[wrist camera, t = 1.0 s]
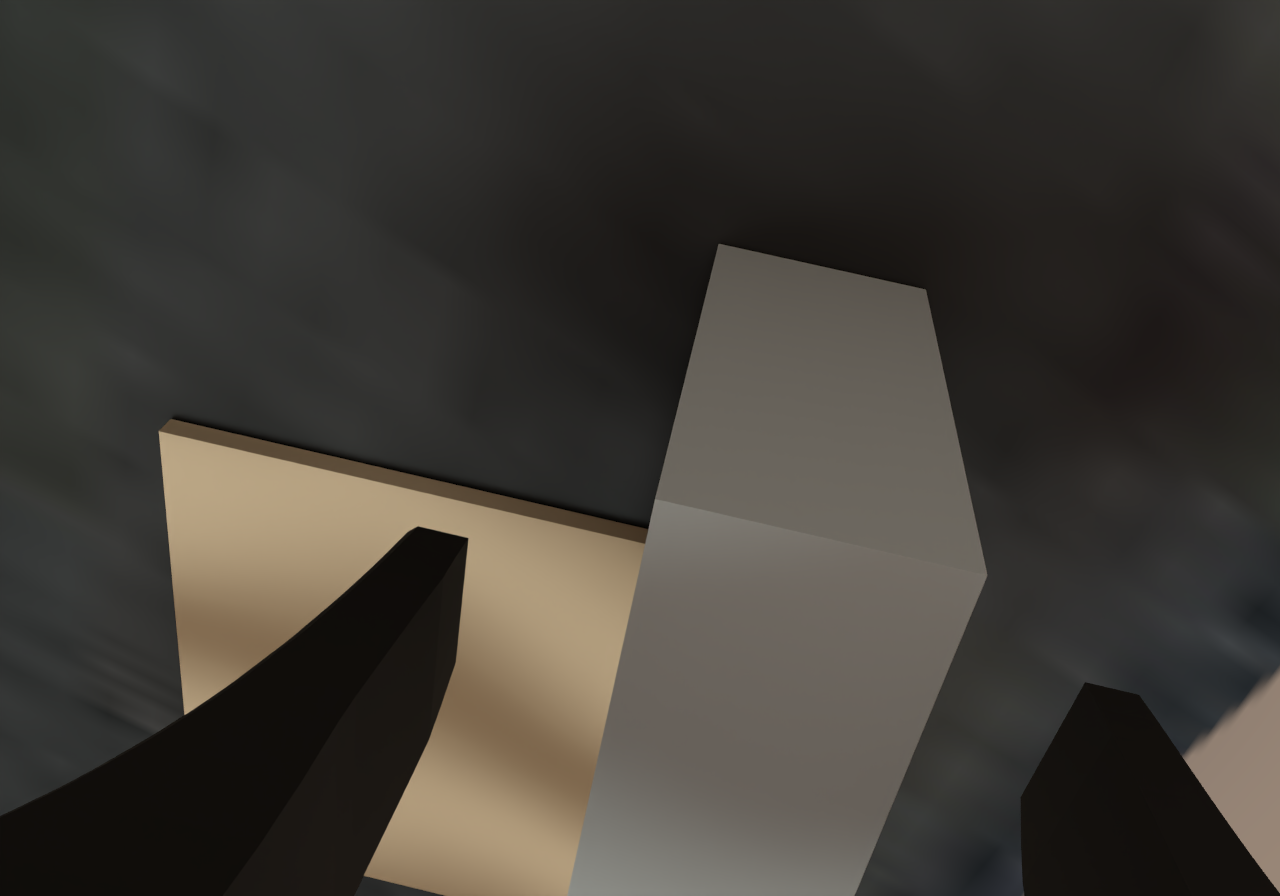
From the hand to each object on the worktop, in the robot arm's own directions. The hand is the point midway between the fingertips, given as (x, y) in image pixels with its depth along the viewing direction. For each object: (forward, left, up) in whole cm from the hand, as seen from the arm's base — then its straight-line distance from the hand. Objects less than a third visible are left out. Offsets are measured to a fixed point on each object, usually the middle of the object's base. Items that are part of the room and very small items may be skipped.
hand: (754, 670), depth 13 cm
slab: (0, 0, -5) cm, 5 cm away
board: (-8, +4, -5) cm, 10 cm away
